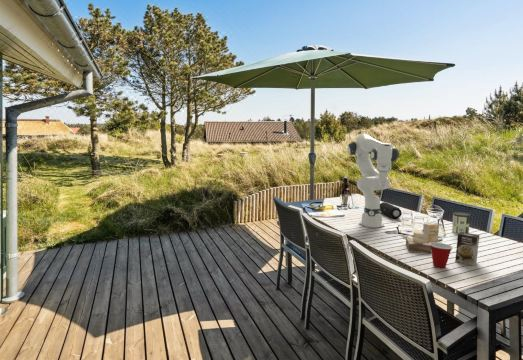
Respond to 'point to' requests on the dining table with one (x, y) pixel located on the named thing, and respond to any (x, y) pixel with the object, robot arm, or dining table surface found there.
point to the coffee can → (460, 222)
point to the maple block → (418, 236)
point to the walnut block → (418, 245)
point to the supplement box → (431, 232)
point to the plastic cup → (440, 254)
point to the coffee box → (467, 248)
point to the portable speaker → (390, 210)
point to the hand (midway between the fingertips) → (383, 187)
